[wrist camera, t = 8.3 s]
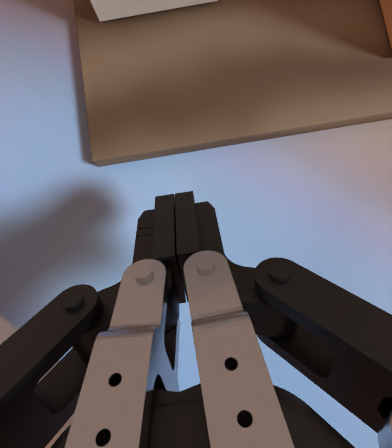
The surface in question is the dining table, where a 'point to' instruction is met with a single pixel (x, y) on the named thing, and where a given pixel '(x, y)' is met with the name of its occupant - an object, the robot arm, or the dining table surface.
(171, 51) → the console
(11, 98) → the dining table surface
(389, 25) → the two dot button
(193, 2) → the one dot button
